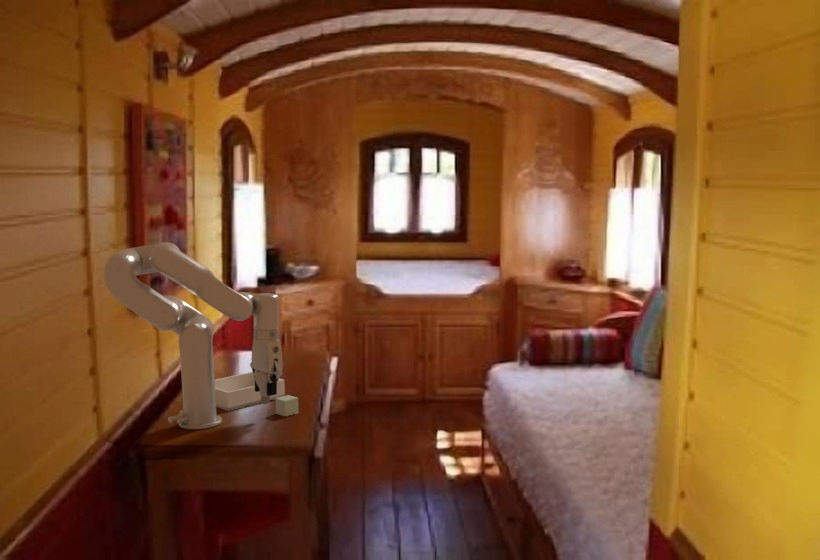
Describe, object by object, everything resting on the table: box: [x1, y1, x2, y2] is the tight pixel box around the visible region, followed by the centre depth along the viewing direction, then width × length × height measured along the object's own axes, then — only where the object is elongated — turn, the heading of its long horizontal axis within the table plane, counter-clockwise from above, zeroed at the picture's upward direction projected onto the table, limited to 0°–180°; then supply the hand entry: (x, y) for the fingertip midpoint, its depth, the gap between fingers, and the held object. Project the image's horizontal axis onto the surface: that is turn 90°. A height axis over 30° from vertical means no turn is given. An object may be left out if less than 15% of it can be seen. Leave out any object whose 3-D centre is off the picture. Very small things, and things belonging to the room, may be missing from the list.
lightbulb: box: [255, 371, 273, 405], centre depth 239 cm, size 6×6×11 cm
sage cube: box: [274, 394, 300, 417], centre depth 246 cm, size 5×5×5 cm
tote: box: [215, 371, 286, 412], centre depth 263 cm, size 22×18×6 cm
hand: (265, 392), depth 239 cm, fingers closed on lightbulb, 5 cm apart
